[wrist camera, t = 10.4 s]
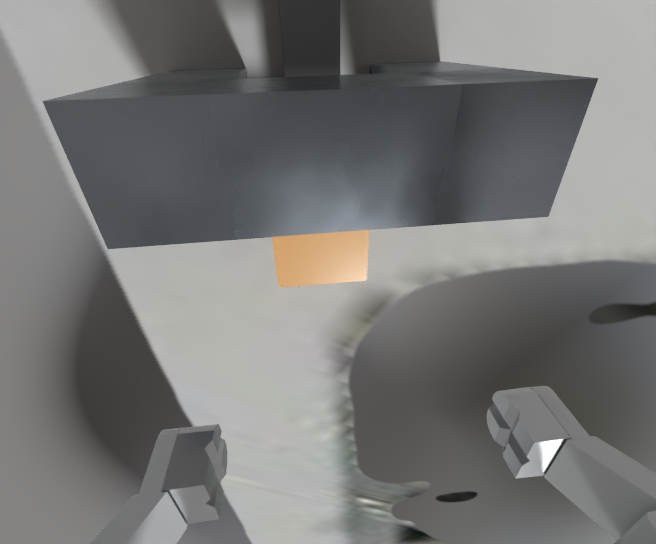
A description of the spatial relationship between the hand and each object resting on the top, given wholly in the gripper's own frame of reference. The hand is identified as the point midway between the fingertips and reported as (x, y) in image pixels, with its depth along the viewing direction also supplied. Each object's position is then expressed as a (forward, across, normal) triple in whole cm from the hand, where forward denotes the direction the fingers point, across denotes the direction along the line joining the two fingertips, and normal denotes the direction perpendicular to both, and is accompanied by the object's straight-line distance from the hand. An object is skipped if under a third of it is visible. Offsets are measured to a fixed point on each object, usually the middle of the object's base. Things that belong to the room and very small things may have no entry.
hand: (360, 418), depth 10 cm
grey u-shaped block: (+15, 0, -6) cm, 16 cm away
